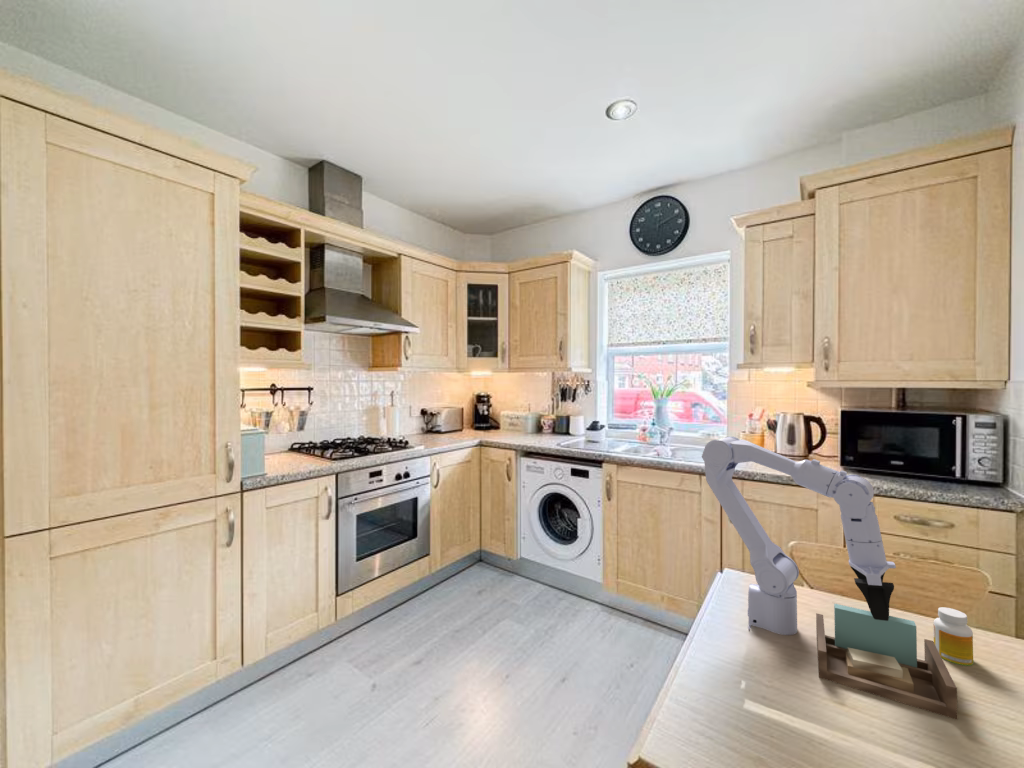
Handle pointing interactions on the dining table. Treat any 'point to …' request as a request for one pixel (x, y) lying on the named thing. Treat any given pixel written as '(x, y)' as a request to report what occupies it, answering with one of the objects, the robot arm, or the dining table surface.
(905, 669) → the oak offcut
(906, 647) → the teal sheet
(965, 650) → the supplement bottle
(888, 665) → the ash offcut
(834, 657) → the walnut rack
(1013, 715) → the dining table surface
